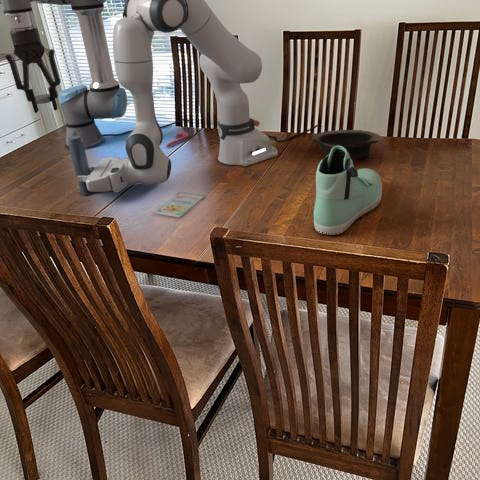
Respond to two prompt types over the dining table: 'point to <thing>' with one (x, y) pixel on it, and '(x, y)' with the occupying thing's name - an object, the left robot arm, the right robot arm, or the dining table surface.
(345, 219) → the sneaker
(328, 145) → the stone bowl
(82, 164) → the dark grey cylinder
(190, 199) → the baking ingredient package
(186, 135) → the candy cane
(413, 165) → the dining table surface
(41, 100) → the lid
